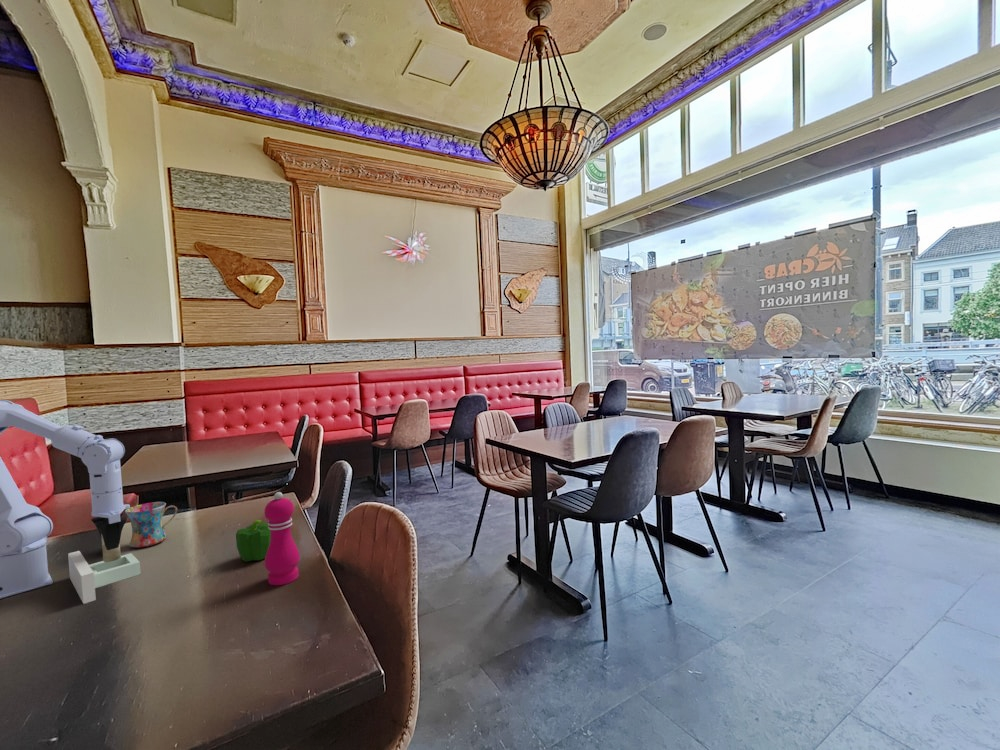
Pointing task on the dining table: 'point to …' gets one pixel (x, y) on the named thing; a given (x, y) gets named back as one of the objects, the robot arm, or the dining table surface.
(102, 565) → the socket block
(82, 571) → the wall
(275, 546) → the pepper mill
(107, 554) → the dowel
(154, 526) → the mug
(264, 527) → the bell pepper
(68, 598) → the dining table surface
